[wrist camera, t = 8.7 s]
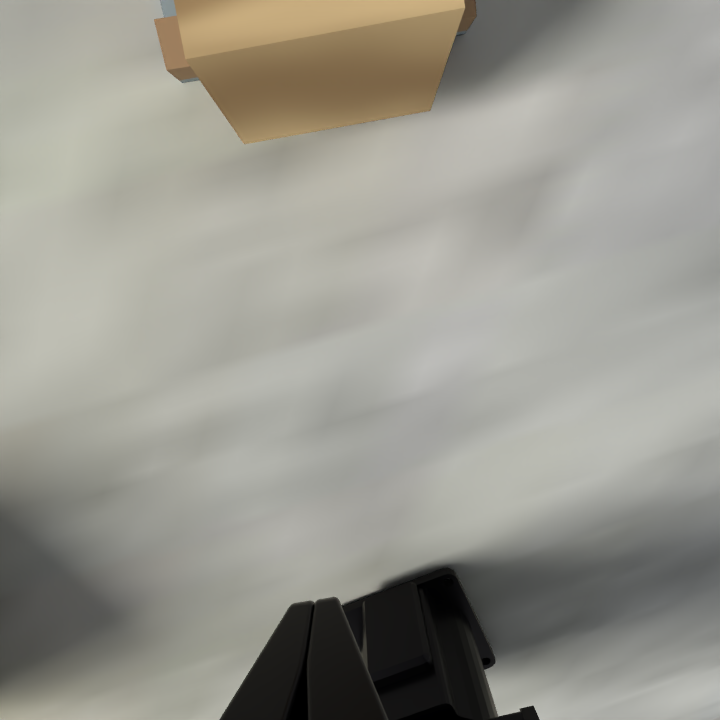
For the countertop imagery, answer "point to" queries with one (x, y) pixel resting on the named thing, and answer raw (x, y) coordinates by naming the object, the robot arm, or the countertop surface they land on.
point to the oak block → (317, 59)
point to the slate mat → (175, 52)
